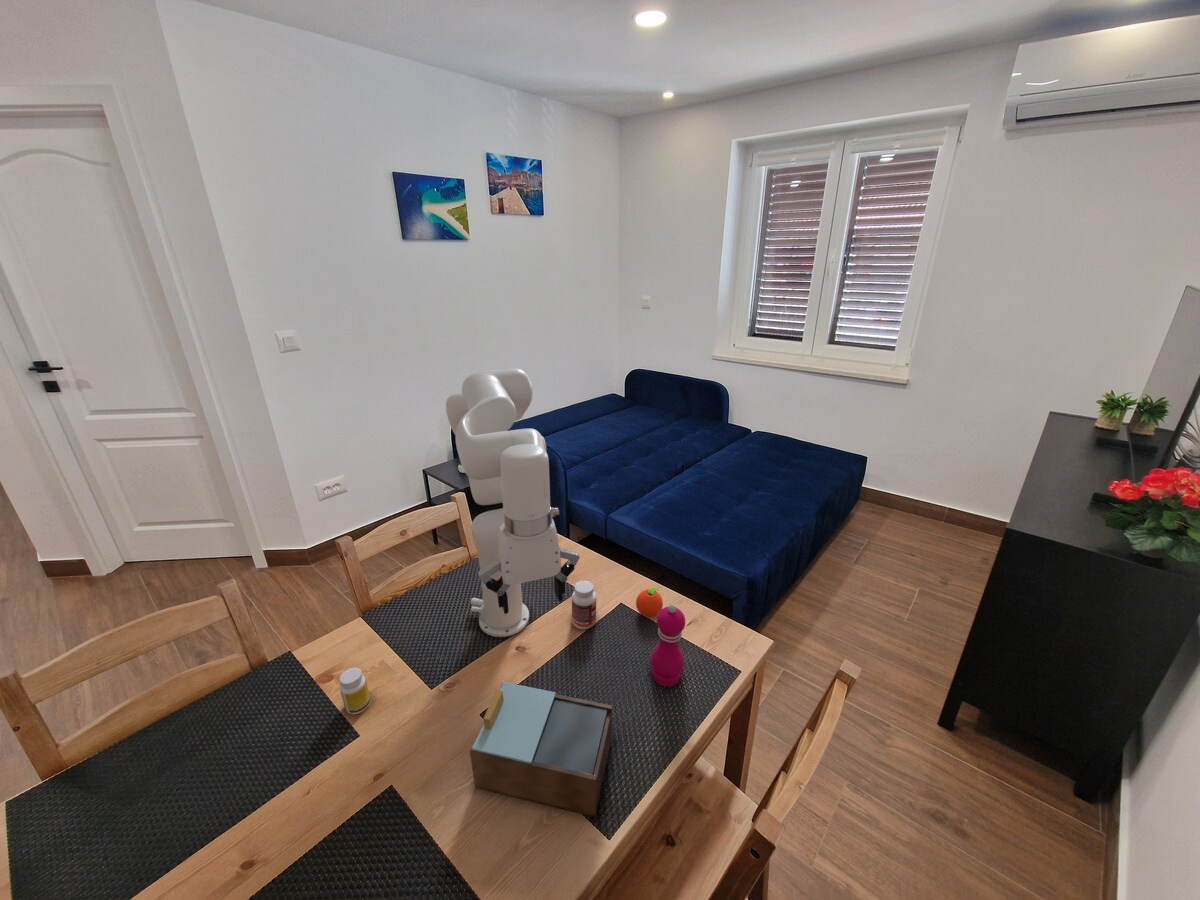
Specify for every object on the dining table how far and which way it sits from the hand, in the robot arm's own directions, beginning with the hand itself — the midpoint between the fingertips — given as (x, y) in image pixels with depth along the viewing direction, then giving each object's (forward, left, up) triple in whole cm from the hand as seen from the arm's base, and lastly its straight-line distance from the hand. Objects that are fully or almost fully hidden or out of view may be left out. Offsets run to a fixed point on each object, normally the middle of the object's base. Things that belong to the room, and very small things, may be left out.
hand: (532, 602), depth 86 cm
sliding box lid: (-1, -8, -21) cm, 22 cm away
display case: (+4, -8, -31) cm, 32 cm away
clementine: (+18, +36, -31) cm, 51 cm away
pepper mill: (+24, +17, -31) cm, 43 cm away
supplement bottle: (-38, -5, -31) cm, 49 cm away
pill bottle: (+2, +29, -31) cm, 42 cm away
